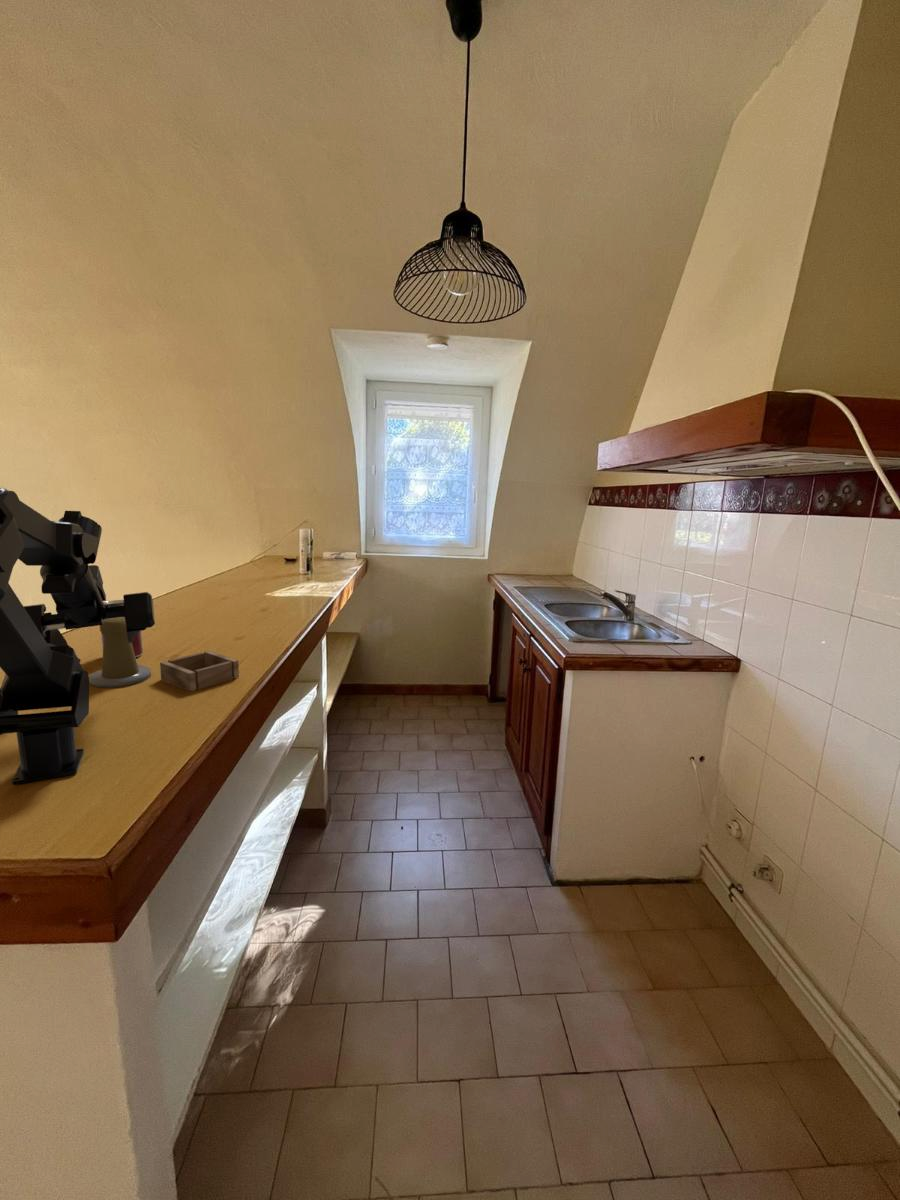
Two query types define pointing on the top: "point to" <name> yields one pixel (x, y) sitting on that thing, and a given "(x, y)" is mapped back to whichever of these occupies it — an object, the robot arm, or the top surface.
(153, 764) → the top surface
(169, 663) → the frame
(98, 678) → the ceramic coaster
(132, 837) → the top surface
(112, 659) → the cork
